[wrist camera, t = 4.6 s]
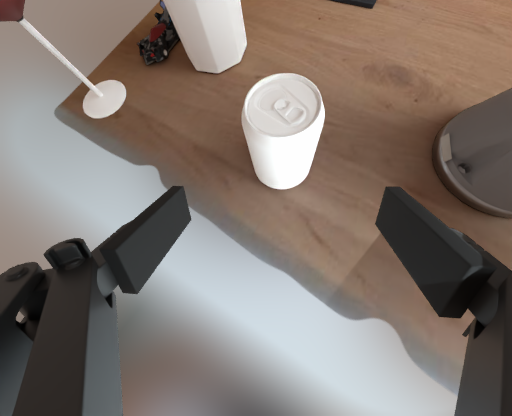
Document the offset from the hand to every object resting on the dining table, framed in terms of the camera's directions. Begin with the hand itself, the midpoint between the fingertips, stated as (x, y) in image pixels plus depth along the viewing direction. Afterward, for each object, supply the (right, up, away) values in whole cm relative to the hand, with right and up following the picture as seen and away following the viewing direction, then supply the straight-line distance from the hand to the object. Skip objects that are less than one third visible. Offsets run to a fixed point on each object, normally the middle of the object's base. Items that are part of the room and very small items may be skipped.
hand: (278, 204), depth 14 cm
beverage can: (+2, +6, +17) cm, 18 cm away
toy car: (-19, +32, +26) cm, 46 cm away
